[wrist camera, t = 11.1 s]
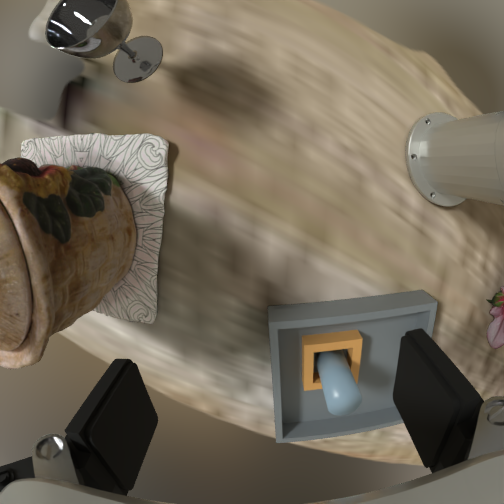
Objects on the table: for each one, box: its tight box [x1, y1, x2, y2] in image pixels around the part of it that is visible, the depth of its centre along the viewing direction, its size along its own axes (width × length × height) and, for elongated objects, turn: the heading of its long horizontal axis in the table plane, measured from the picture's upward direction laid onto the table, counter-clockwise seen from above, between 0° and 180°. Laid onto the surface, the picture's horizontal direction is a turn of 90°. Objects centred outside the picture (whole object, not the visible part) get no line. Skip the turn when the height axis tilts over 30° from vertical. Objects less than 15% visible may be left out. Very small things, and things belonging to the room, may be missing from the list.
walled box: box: [268, 290, 438, 443], centre depth 38 cm, size 22×22×4 cm
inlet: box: [302, 330, 363, 391], centre depth 38 cm, size 8×8×2 cm
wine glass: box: [45, 0, 163, 83], centre depth 23 cm, size 8×8×15 cm
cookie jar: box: [0, 133, 169, 369], centre depth 21 cm, size 25×25×32 cm
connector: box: [315, 349, 362, 416], centre depth 34 cm, size 4×4×10 cm
